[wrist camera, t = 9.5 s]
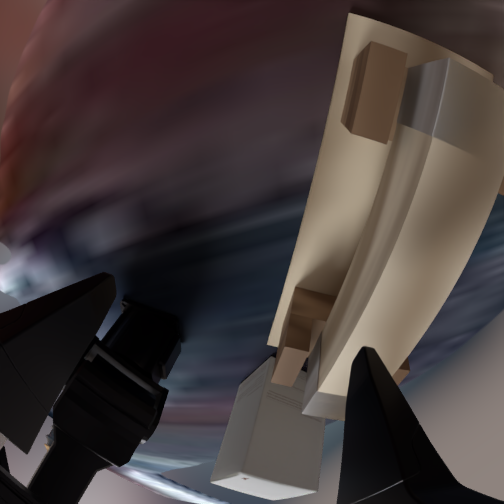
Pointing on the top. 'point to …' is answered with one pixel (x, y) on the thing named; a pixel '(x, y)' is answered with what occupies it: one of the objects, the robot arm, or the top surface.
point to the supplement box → (270, 440)
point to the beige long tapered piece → (347, 181)
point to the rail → (414, 226)
